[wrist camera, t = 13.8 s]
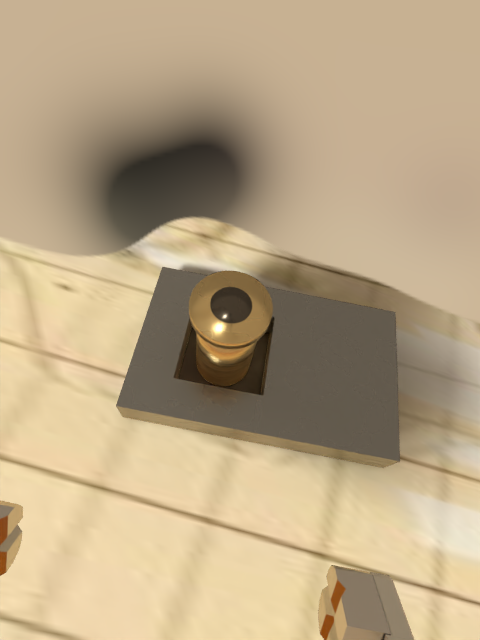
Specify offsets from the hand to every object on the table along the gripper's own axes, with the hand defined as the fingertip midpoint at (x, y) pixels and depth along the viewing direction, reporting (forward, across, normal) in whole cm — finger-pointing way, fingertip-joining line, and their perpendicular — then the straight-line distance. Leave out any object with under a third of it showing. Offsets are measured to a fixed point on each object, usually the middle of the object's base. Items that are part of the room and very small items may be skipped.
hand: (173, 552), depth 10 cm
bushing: (+19, 0, +2) cm, 20 cm away
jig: (+19, -3, +2) cm, 20 cm away
